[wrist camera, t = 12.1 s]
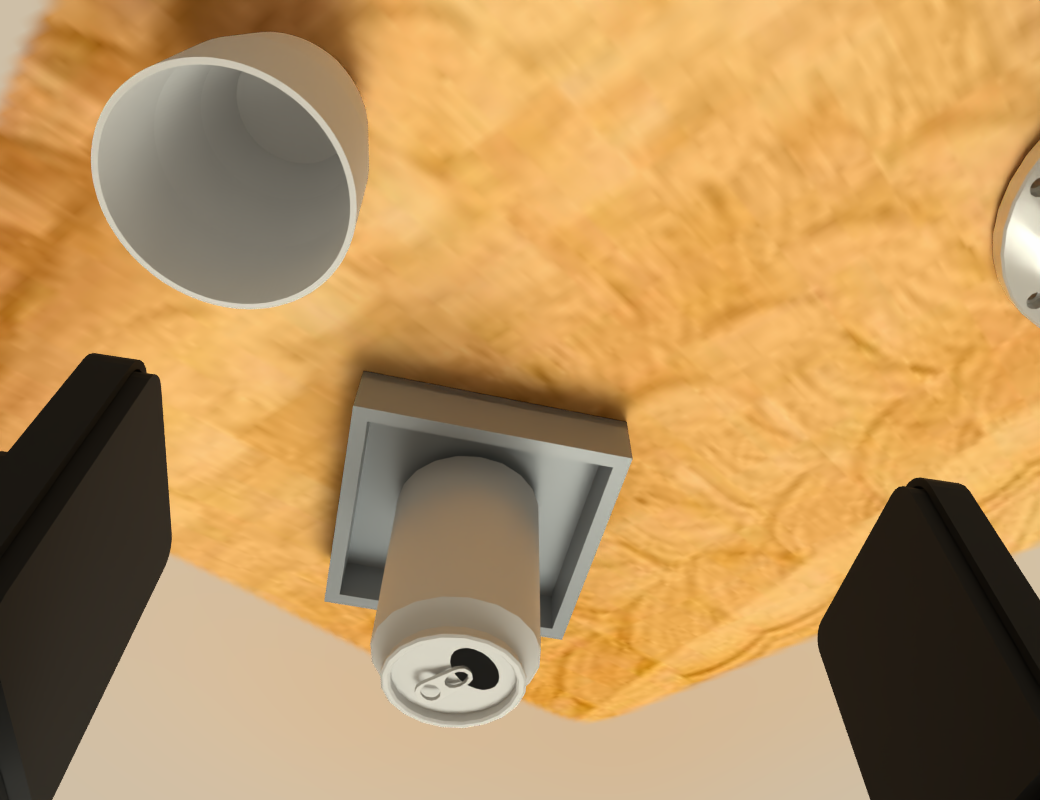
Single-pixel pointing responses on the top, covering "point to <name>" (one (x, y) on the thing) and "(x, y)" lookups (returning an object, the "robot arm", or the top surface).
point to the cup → (235, 168)
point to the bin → (488, 434)
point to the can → (460, 594)
